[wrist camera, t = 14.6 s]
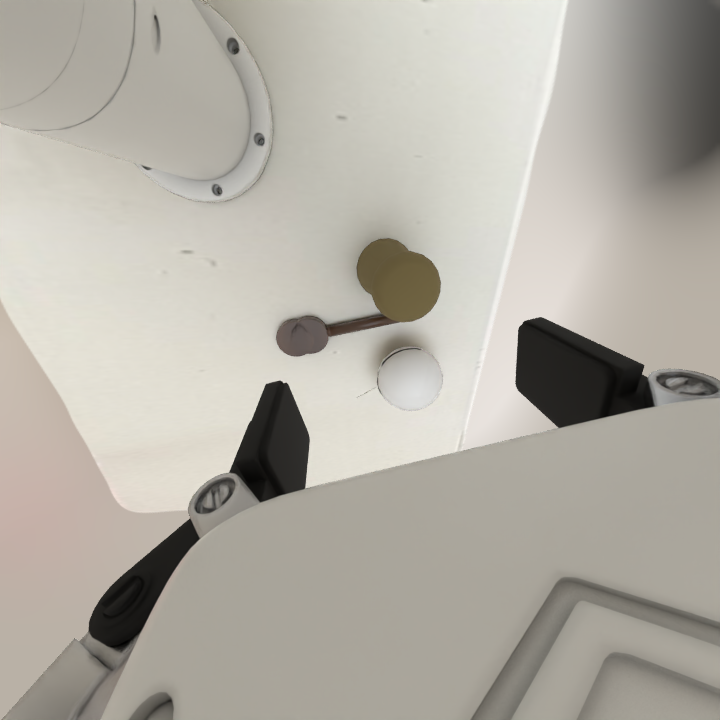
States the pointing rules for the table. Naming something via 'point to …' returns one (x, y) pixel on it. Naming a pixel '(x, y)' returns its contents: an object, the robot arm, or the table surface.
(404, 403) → the white ovoid
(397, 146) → the table surface
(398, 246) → the cork
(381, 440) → the table surface
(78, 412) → the table surface
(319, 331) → the wooden spoon
